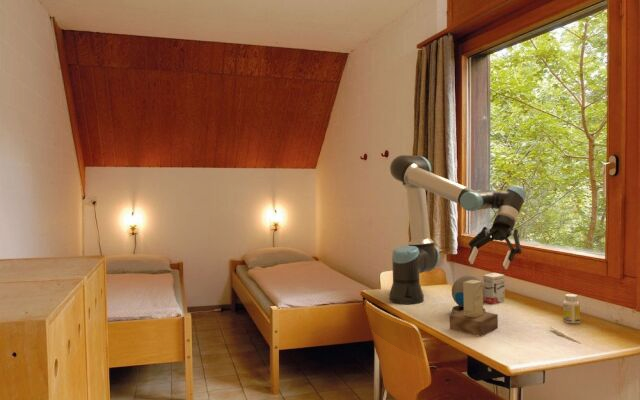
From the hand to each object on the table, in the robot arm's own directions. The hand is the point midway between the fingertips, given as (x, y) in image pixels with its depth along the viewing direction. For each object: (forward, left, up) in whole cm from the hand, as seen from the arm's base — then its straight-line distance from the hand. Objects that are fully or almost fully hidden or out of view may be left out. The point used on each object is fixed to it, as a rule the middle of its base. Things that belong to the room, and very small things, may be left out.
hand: (487, 264), depth 178 cm
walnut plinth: (0, -11, -21) cm, 24 cm away
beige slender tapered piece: (+27, +1, -22) cm, 35 cm away
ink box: (-12, +28, -21) cm, 37 cm away
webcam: (-11, +5, -22) cm, 24 cm away
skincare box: (+1, -12, -16) cm, 20 cm away
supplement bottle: (+22, +20, -21) cm, 37 cm away
